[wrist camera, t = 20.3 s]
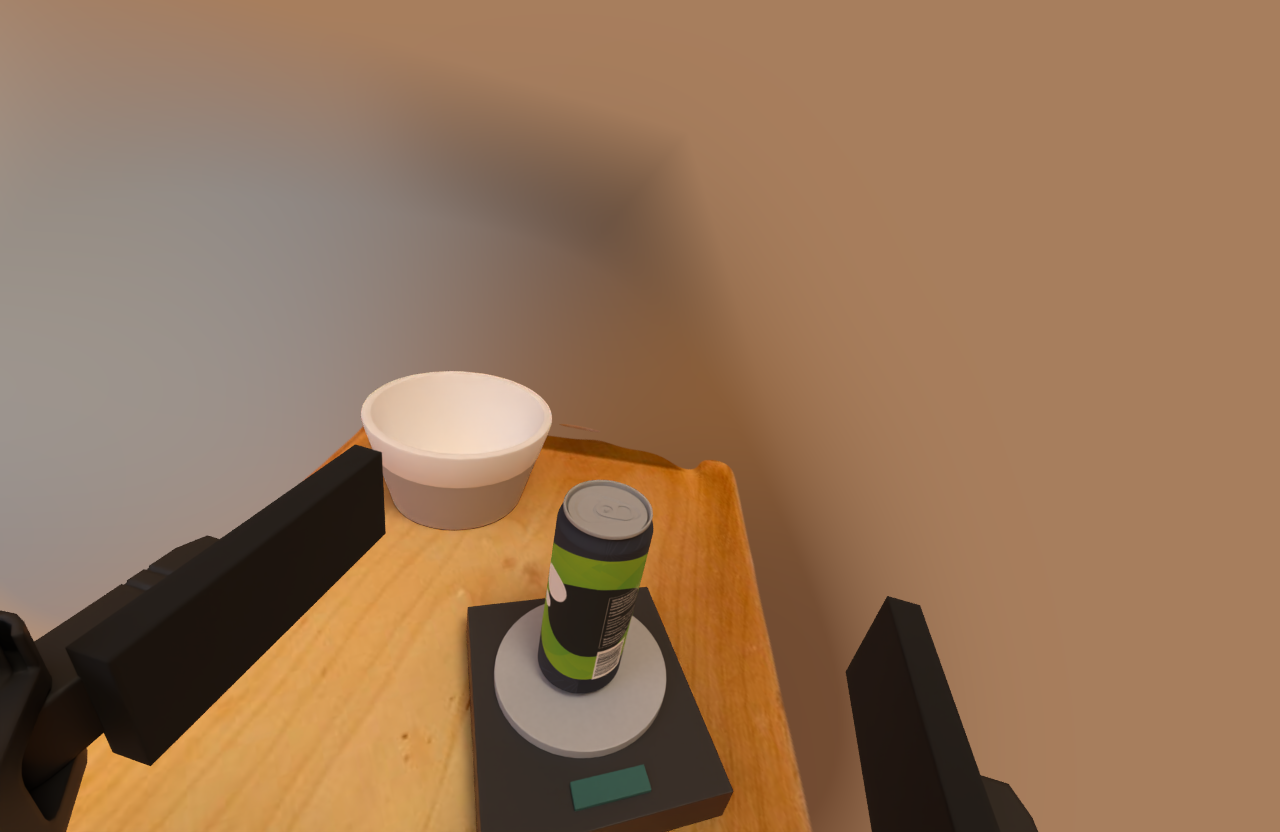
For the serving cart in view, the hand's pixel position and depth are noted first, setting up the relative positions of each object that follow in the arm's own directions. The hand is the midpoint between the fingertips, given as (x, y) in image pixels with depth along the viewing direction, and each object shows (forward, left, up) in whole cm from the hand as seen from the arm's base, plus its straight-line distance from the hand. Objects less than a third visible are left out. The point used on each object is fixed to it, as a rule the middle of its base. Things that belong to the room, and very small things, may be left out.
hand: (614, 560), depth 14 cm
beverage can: (-6, -16, -26) cm, 31 cm away
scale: (-6, -14, -30) cm, 34 cm away
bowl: (+2, -43, -30) cm, 53 cm away
